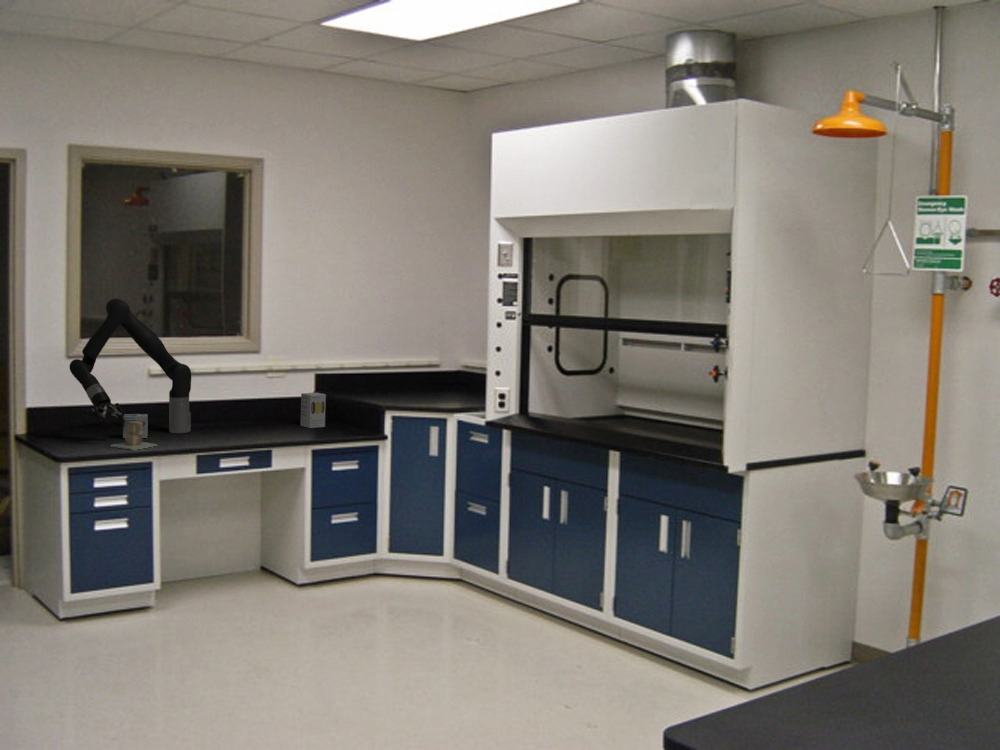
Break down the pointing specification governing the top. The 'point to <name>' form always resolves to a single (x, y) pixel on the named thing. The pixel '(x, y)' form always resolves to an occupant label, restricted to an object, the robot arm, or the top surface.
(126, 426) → the beech block
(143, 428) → the light bulb box
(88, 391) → the robot arm
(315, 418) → the supplement box
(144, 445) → the sage tile
